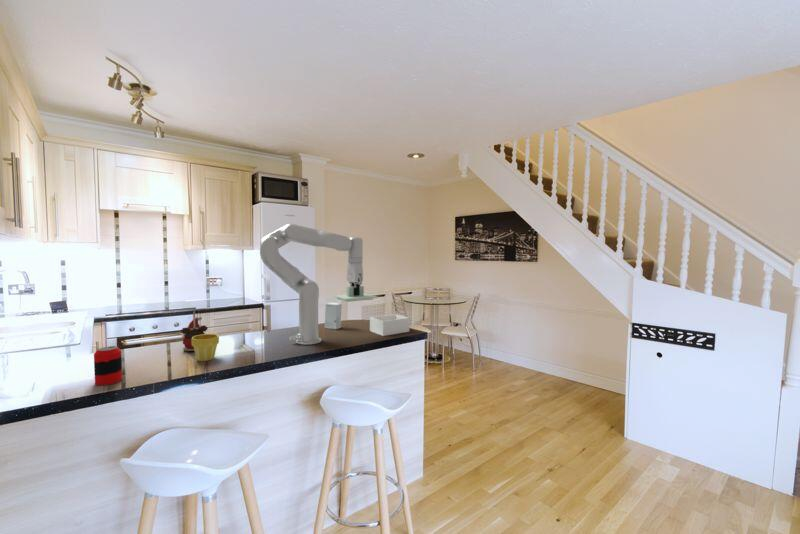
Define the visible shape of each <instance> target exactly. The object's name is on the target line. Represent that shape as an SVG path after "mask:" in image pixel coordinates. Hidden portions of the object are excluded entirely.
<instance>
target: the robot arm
mask: <svg viewBox="0 0 800 534" xmlns="http://www.w3.org/2000/svg"><path fill="white" fill-rule="evenodd" d="M291 242H292V243H298V244H302V245H307V246H312V247H316V248H317V247H318V248H319V247H321V248H328V249H333V250H336V251H338V252H348V253H347V254H348V255H347V256H348V258H347V260H348V261H347V270H346V281H347V282H349V284H350V285H349V287H352V286H355V288H354V296H357V295H360V286H362V284H363V281H364V269H363V268H364V267H363V251H364V249H363V247H364V244H363V242H364V241H363V238H362V237H359V236H358V237H355V236H354V237H348V236H346V235H341V234H338V233H337V234H336V233H332V232H327V231H324V230H320V229H316V228H312V227H307V226H303V225H298V224H294V223H288V224H287V223H286V224H284V225H283V226H282V227H280V228H278V229H276V230H275V231H273V232H271V233H269V234H267V235H265V236H263V237H262V238H261V240H260V242H259V247H260V248H259V255H260V258H261V261H262V263H263V264H264V265H265V267H267V269H269V270H270V271H271V272H272V273H273V274H275V275H276V276H277V277H278V278H279V279H281V281H282V282H283V283H285V285H287V287H290V288H291V289H292V290H293V291H294V292H295V293H297V294H298V297H299V298H298V301H299V302H298V332H297V333H296V334H295V335H290V336H289V341H292V340H293V341H295V343H296V344H298V345H301V346H302V345H305V346H307V345H317V344H319V343H322V338H321V337H319V299H320V298H319V297H320V288H319V285H318V284H317V282H315V281H314V280H312V279H310V278H309V277H307V275H305V274H304V273H303V272H302V271H300V269H299V268H298V267H296V266H295V265H293V264H292V263H290V262H289V261H288V260H287V259H285V257H283V256H282V255H281V254H280V252H279V248H280V249H281V248H282V247H283V246H285V245H287V244H289V243H291Z"/></svg>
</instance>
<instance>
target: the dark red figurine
mask: <svg viewBox="0 0 800 534" xmlns="http://www.w3.org/2000/svg"><path fill="white" fill-rule="evenodd" d="M192 317H193V319H192V320H191V321H190V322H189V323H188V325H187V326H186V327H183V328H182V329H180V333H181V334H183V337H182V344H183V345H184V346H183V347H182V350H183V351H186V352H187V351H188V352H195V351H194V347H193V346H192V337H193V336H196V335H202V334H206V333H205V332H207V331H208V326H207V325H200V324H199V321H202V320H203V316H201V315H199V316H197V317H196V311H195V310H193V311H192Z"/></svg>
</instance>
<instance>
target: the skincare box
mask: <svg viewBox="0 0 800 534" xmlns="http://www.w3.org/2000/svg"><path fill="white" fill-rule="evenodd" d="M342 306H343V305H342V303H340V302H339V303H338V302H326V303H325V309H324V329H327V330H328V329H329V330H338V329H340V328H342V308H343V307H342Z"/></svg>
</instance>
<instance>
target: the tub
mask: <svg viewBox="0 0 800 534" xmlns="http://www.w3.org/2000/svg"><path fill="white" fill-rule="evenodd" d="M369 332H372V333H373V334H377V335H380V336H382V337H384V336H390V335H397V334H402V333H403V334H404V333H410V317H408V316H405V315H400V314H396V313H395V314H394V313H393V314H386V315H378V316H377V315H376V316H370V317H369Z"/></svg>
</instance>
